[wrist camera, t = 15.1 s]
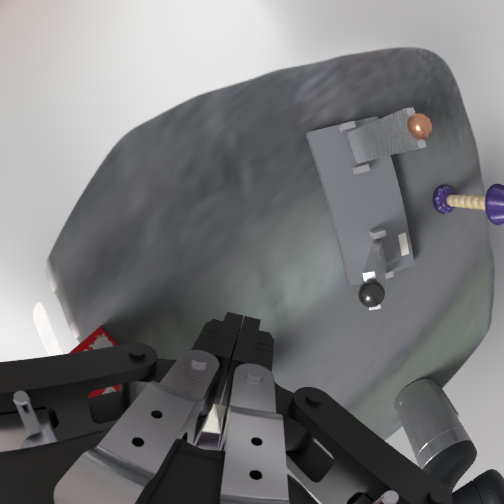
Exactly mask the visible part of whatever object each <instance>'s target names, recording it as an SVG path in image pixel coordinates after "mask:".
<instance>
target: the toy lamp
mask: <svg viewBox="0 0 504 504" xmlns="http://www.w3.org/2000/svg"><path fill="white" fill-rule="evenodd" d="M433 204H434V207H435V208H436V210H437V211H438V212H440V213H442V214H446V213H449V212H451V211H452V210H453V209H454V207H455V206H456V207H462V208H470V209H472V208H475V209H482V210H486V214H487V216H488V218H489V220H490V221H491V222H492V223H493V224H495V225H504V185H501V184H494V185H492V186H491V187H490V188H489V189H488V191H487V193H486V196H478V195H476V196H473V195H468V196H467V195H455V193H454V191H453V190H452V189H451V188H450V187H448V186H445V185H441V186H439V187H438V188H436V190H435V192H434V194H433Z"/></svg>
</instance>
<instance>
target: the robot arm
mask: <svg viewBox="0 0 504 504" xmlns="http://www.w3.org/2000/svg"><path fill="white" fill-rule="evenodd" d="M242 320H243V315H239V314H235V313H231V312H227V314H226V317H225V319H224V321H219V320H215V319H213V320H211V321H209V322H207V323H206V324H205V326H204V328H203V330H202V331H201V333H200V335H199V337H198V339H197V340H196V342H195V344H194V346H193V348H192V349H191V350H189V351H186V352H184V353H182V354H181V356H180V357H179V358H178V360H165V359H157V354H156V352H155V350H154V349H153V348H151V347H149V346H148V345H145V344H142V343H127V344H122V345H117V346H111V347H106V348H100V349H94V350H89V351H82V352H76V353H70V354H63V355H56V356H49V357H43V358H34V359H26V360H17V361H8V362H0V504H318V503H317V502H316V501H315V500H314V498H313V497H311V495H310V494H309V493H308V492H307V491H306V490H305V489H304V487H303V486H302V485H301V484H300V483H299V482H297V481H296V480H295V479H294V478H292V477H291V476H290V475H288V474H287V467H288V469H289V470H290V471H291V472H292V473H293V474H294V475H295V476H296V477H297V478H298V479H299V480H300V482H301V483H302V484H303V485H304V486H305V487H306V488H307V489H308V490H309V491H310V492H311V493H312V494H313V495H314V496H315V497H316V498H317V499H318V500H319V501H320V502H321V503H322V504H504V478H503V477H502V476H501V474H500V473H499V472H497V471H496V470H493V469H490V470H487V471H486V472H484V473H482V474H481V475H479V476H477V477H476V478H475V479H473V481H470V482H469V483H467V484H466V485H464V486H463V487H461V488H459V489H458V490H456V491H455V492H453V493H452V491H453V488H454V487H455V485H456V483H457V482H458V480H459V479H460V478H461V477H462V475H463V474H464V473H465V472H466V471H467V470H468V469H469V468H470V466H471V465H472V464H473V462H474V461H475V458H476V455H477V451H476V448H475V446H474V444H473V443H472V441H471V439H470V437H469V436H468V434H467V432H466V431H465V429H464V428H463V426H462V424H461V423H460V421H459V419H458V412H457V411H456V409H455V408H454V406H453V405H452V403H451V402H450V400H449V399H448V397H447V395H446V394H445V393H444V391H443V389H442V388H441V386H440V385H436V383H435V382H434V381H433V380H431V379H420V380H417V381H415V382H413V383H411V384H410V385H408V386H407V387H406V388H404V389H403V390H402V391H401V392H400V394H399V395H398V397H397V399H396V402H395V408H396V410H397V413H398V415H399V418H400V420H401V423H402V425H403V427H404V430H405V432H406V434H407V437H408V439H409V442H410V444H411V447H412V449H413V452H414V455H415V457H416V459H417V462H418V465H419V467H418V466H417V465H416V464H414V463H413V462H411V461H410V460H409V459H407V458H406V457H405V456H403V455H402V454H401V453H399V452H398V451H397V450H396V449H394V448H393V447H392V446H390V445H389V444H388V443H386V442H385V441H384V440H383V439H381V438H380V437H379V436H378V435H376V434H375V433H374V432H373V431H371V430H370V429H369V428H368V427H366V426H365V425H364V424H363V423H361V422H360V421H359V420H358V419H356V418H355V417H354V416H353V415H352V414H350V413H349V412H348V411H347V410H346V409H344V408H343V407H342V406H341V405H340V404H338V403H337V402H336V401H335V400H334V399H333V398H331V397H330V396H329V395H328V394H327V393H325V392H324V391H322V390H320V389H317V388H313V387H303V388H300V389H298V390H296V392H295V393H293V392H290V391H288V390H286V389H284V388H282V387H280V386H279V385H278V384H276V383H275V381H274V376H273V374H272V373H271V372H272V359H273V344H274V339H273V338H272V336H271V334H270V333H268V332H264V331H260V330H259V326H260V320H259V319H255V318H251V317H247V316H245V317H244V320H243V324H242ZM241 324H242V327H241ZM240 329H241V330H240ZM239 333H240V334H239ZM226 381H227V382H226ZM225 384H226V387H225ZM116 385H120V390H119V391H115V392H110V393H106V394H102V395H98V396H93V397H89V398H88V396H89V394H90V393H91V392H93V391H95V390H99V389H104V388H108V387H112V386H116ZM224 388H225V391H224ZM223 391H224V395H223V399H222V404H221V405H223V406H226V407H225V411H224V416H223V419H222V424H221V431H220V437H219V444H218V450H204V449H200V448H198V447H196V443H197V441H198V439H199V437H200V435H201V433H202V430H203V428H204V426H205V424H206V422H207V420H208V417H209V413H210V411H211V410H212V407H213V404H214V403H215V404H218V405H219V404H220V401H221V398H222V394H223ZM314 439H316V440H317V441H318V442H320V443H321V444H322V445H323V446H324V447H325V448H326V449H327V450H328V451H329V452H330V453H331V454H332V456H333V458H334V460H333V459H332V458H331V457H330V456H329V455H328V454H327V453H326V452H325V451H324V450H323V449H322V448H321V447H320V446H319V445H317V444H316V443H315V442H314Z"/></svg>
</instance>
